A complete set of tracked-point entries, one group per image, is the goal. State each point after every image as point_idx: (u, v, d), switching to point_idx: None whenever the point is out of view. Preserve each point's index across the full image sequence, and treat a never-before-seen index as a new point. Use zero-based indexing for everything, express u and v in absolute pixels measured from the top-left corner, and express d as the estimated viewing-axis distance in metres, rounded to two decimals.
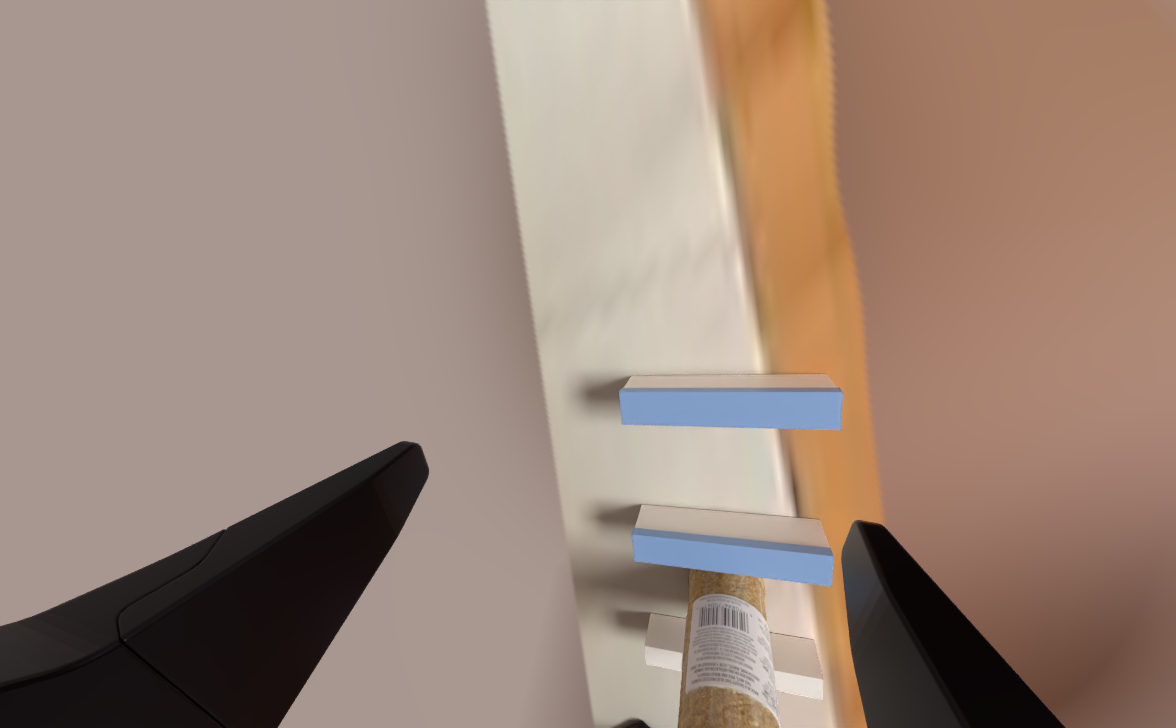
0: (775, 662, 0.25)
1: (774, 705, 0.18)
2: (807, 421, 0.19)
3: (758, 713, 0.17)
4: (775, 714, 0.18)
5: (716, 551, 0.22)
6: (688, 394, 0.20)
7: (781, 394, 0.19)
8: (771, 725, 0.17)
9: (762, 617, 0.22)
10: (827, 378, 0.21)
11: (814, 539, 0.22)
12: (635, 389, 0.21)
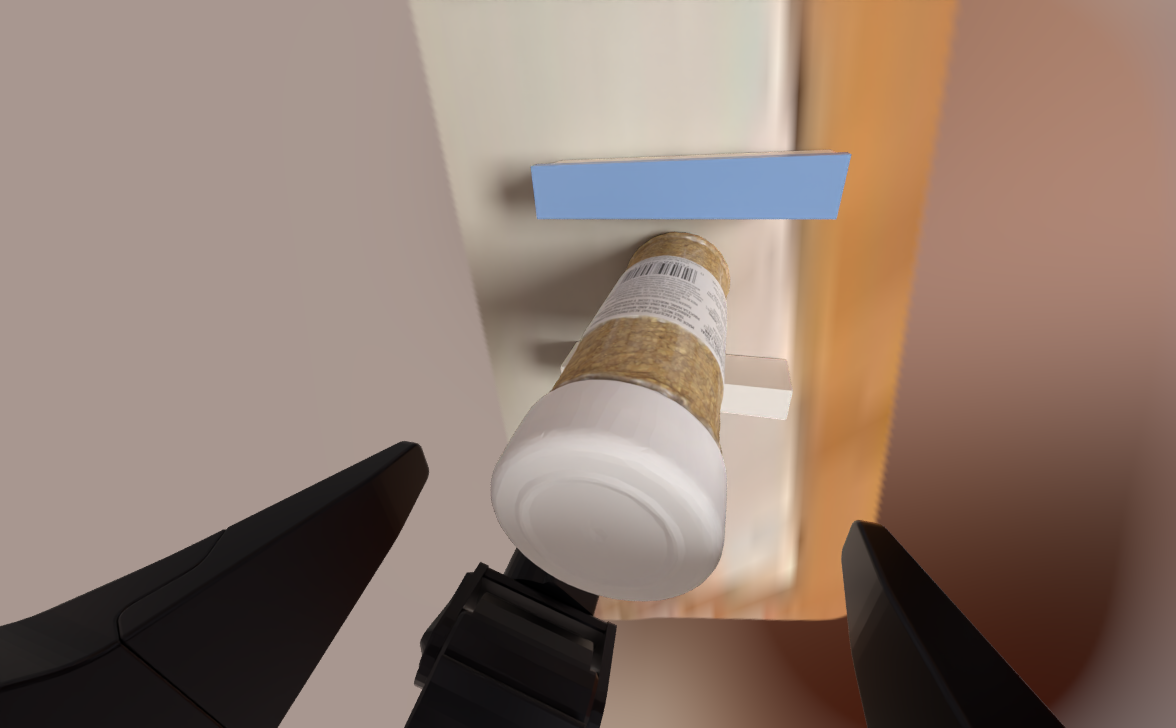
0: (730, 377, 0.18)
1: (718, 351, 0.11)
2: None
3: (688, 344, 0.10)
4: (718, 359, 0.11)
5: (659, 177, 0.14)
6: None
7: None
8: (708, 363, 0.10)
9: (719, 286, 0.15)
10: None
11: None
12: None
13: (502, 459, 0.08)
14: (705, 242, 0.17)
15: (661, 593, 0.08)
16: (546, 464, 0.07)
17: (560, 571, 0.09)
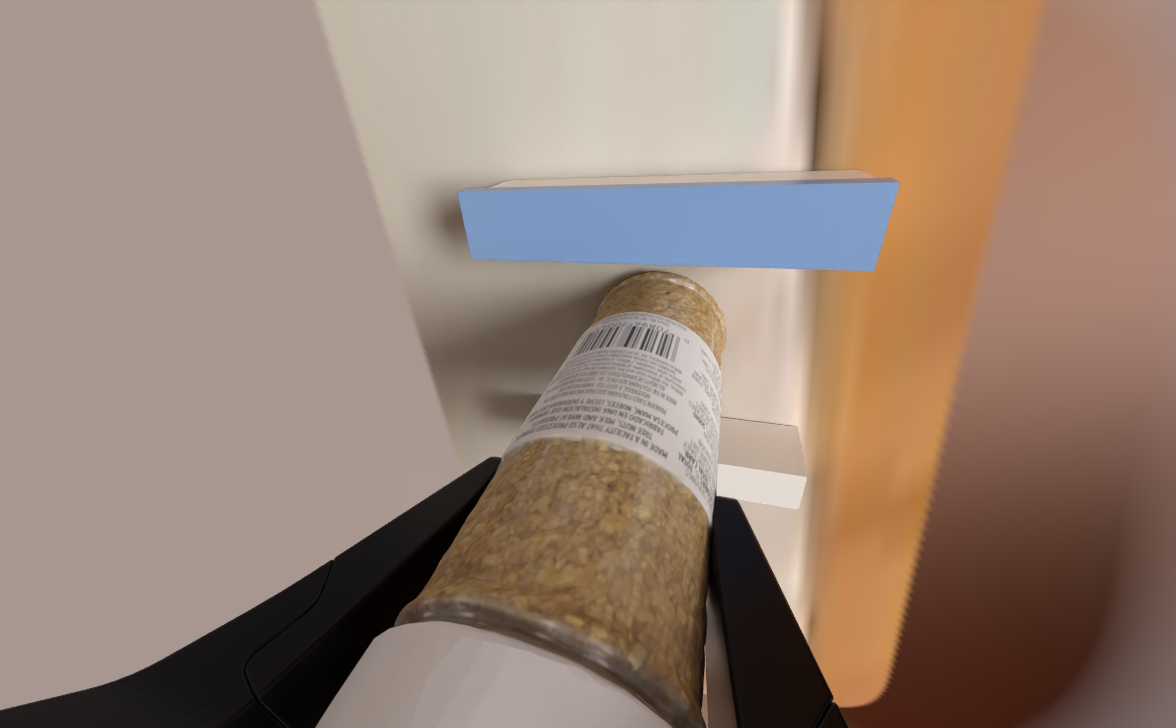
0: (727, 454, 0.14)
1: (705, 484, 0.07)
2: None
3: (655, 493, 0.06)
4: (705, 501, 0.07)
5: (627, 210, 0.10)
6: None
7: None
8: (688, 521, 0.06)
9: (711, 353, 0.11)
10: None
11: None
12: None
13: None
14: (694, 286, 0.13)
15: None
16: None
17: None
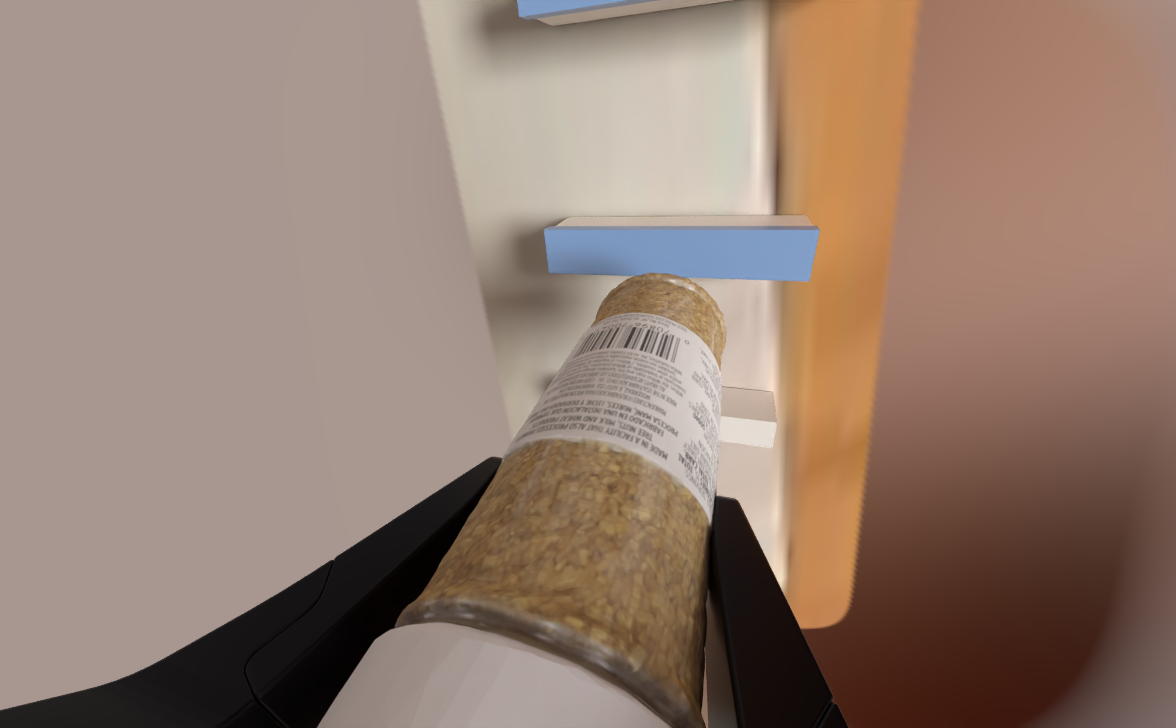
0: (722, 409, 0.20)
1: (705, 485, 0.07)
2: None
3: (655, 494, 0.06)
4: (705, 502, 0.07)
5: (656, 243, 0.16)
6: None
7: None
8: (688, 522, 0.06)
9: (711, 354, 0.11)
10: None
11: (795, 225, 0.15)
12: None
13: None
14: (694, 287, 0.13)
15: None
16: None
17: None
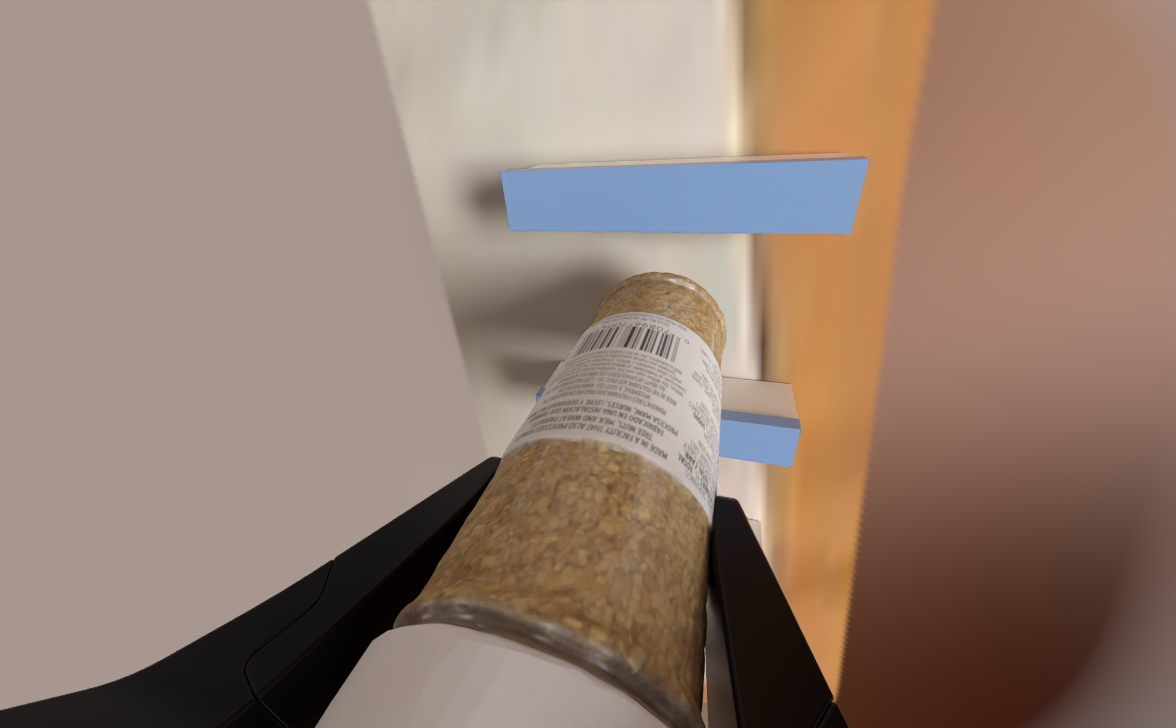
0: None
1: (705, 485, 0.07)
2: (797, 219, 0.11)
3: (655, 493, 0.06)
4: (705, 502, 0.07)
5: None
6: (608, 173, 0.12)
7: (761, 167, 0.11)
8: (688, 522, 0.06)
9: (711, 354, 0.11)
10: (842, 155, 0.12)
11: (778, 408, 0.16)
12: (527, 169, 0.13)
13: None
14: (694, 286, 0.13)
15: None
16: None
17: None
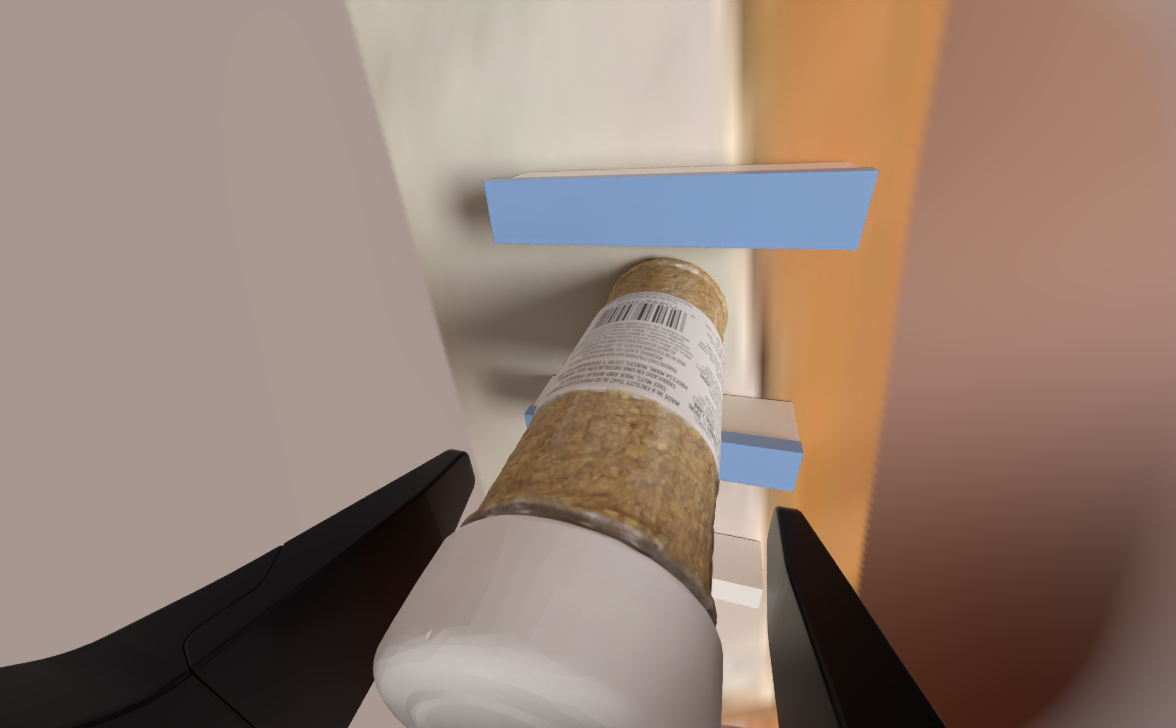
0: None
1: (711, 431, 0.09)
2: (800, 234, 0.11)
3: (670, 431, 0.08)
4: (711, 444, 0.08)
5: None
6: (598, 184, 0.11)
7: (761, 178, 0.10)
8: (698, 456, 0.08)
9: (714, 328, 0.12)
10: (848, 165, 0.11)
11: (779, 428, 0.15)
12: (513, 179, 0.12)
13: (380, 650, 0.05)
14: (698, 271, 0.14)
15: None
16: (435, 679, 0.05)
17: None
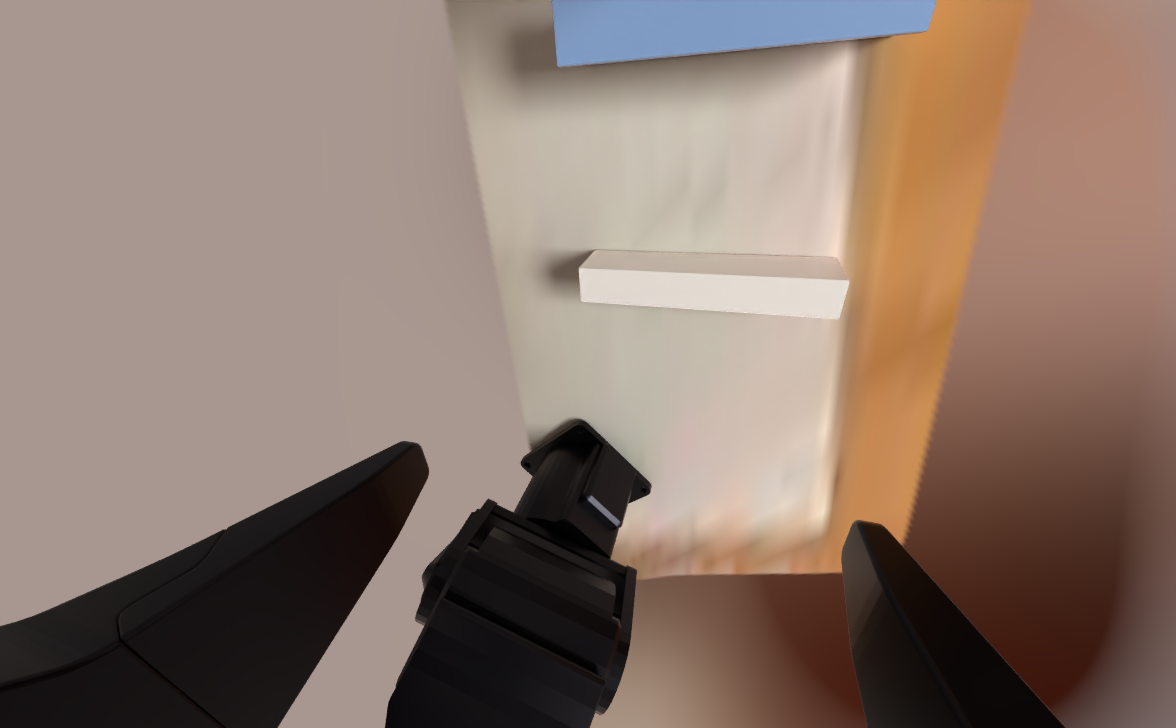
0: (775, 272, 0.16)
1: None
2: None
3: None
4: None
5: None
6: None
7: None
8: None
9: None
10: None
11: None
12: None
13: None
14: None
15: None
16: None
17: None
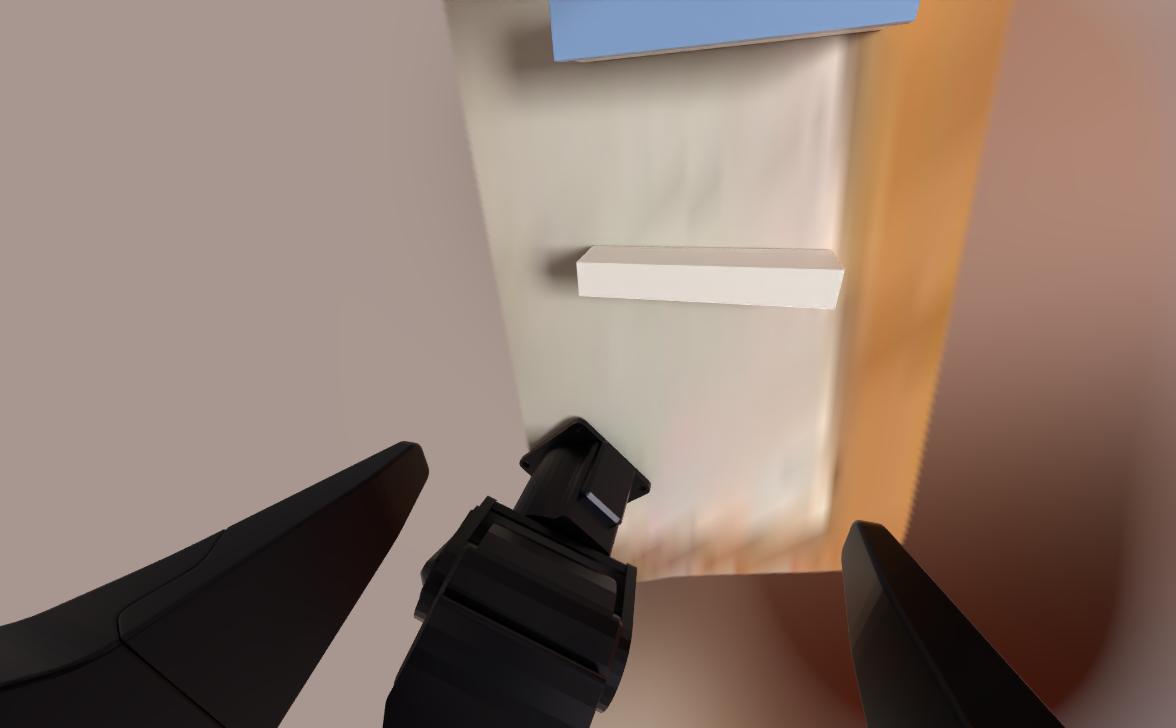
0: (771, 263, 0.16)
1: None
2: None
3: None
4: None
5: None
6: None
7: None
8: None
9: None
10: None
11: None
12: None
13: None
14: None
15: None
16: None
17: None
